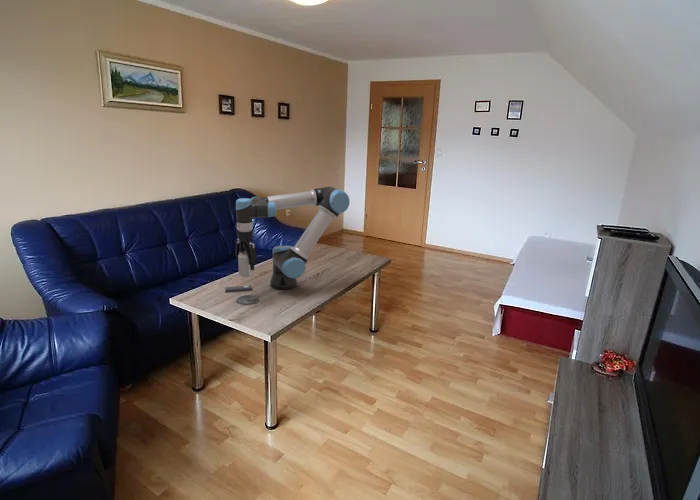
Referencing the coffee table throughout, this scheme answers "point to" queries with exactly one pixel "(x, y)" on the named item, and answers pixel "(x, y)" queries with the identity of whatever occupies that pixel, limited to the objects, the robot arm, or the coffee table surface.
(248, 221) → the robot arm
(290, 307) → the coffee table surface
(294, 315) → the coffee table surface
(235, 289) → the remote
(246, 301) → the coaster
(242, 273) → the can
